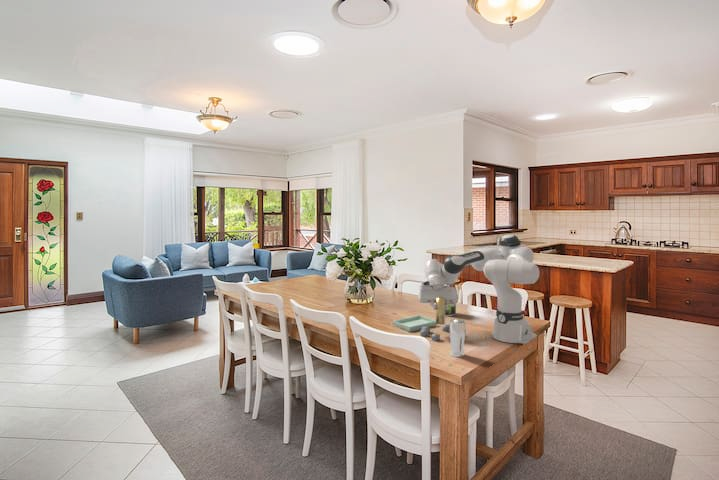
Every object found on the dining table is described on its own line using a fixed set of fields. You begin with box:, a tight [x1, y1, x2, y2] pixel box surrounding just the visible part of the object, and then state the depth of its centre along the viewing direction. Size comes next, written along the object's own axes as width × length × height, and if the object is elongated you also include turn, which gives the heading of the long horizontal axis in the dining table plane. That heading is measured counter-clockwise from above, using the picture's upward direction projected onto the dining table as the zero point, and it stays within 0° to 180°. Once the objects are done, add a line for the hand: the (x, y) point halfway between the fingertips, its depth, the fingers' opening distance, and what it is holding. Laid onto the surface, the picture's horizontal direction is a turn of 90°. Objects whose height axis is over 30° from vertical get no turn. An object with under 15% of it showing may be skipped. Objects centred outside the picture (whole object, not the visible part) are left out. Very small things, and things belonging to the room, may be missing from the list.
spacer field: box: [419, 324, 451, 343], centre depth 193 cm, size 19×21×2 cm
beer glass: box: [448, 318, 467, 358], centre depth 167 cm, size 7×7×15 cm
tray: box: [392, 314, 438, 333], centre depth 210 cm, size 20×14×3 cm
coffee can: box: [445, 302, 457, 317], centre depth 232 cm, size 10×10×14 cm
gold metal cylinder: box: [435, 297, 446, 325], centre depth 192 cm, size 4×4×13 cm
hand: (440, 309), depth 192 cm, fingers closed on gold metal cylinder, 4 cm apart
